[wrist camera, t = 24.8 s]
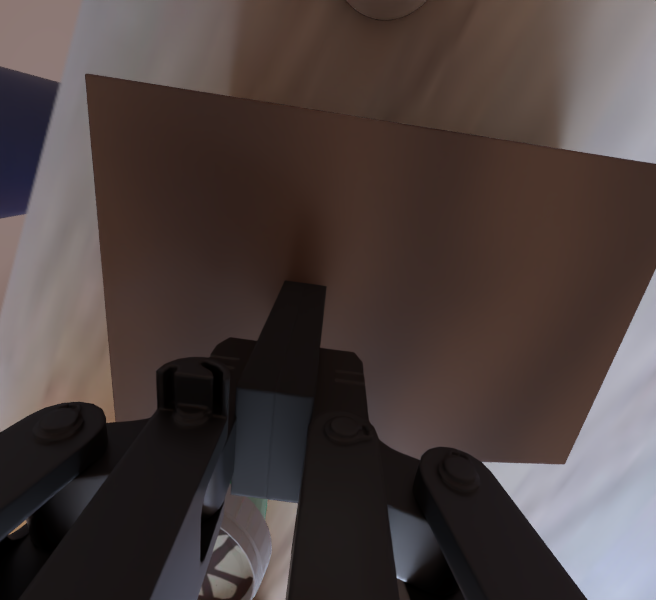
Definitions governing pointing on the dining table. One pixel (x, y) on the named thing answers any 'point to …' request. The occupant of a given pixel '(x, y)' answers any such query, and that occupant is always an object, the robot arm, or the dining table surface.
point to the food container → (238, 551)
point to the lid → (372, 259)
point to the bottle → (386, 8)
